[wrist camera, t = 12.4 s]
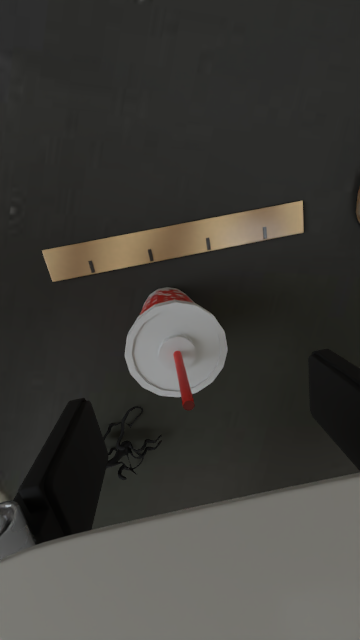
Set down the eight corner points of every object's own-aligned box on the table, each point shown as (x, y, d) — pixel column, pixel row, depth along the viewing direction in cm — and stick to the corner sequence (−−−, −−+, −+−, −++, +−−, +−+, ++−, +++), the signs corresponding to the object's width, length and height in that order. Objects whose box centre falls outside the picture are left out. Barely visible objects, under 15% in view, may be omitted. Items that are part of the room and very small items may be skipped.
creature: (157, 396, 27) (78, 409, 25) (172, 430, 23) (76, 451, 20) (157, 454, 30) (85, 472, 27) (170, 496, 25) (84, 522, 22)
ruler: (300, 201, 22) (303, 200, 21) (301, 232, 23) (304, 232, 22) (43, 250, 21) (41, 250, 20) (54, 281, 22) (52, 282, 21)
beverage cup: (120, 313, 23) (78, 414, 10) (166, 263, 22) (187, 301, 9) (169, 354, 25) (189, 486, 12) (213, 309, 24) (291, 397, 11)
